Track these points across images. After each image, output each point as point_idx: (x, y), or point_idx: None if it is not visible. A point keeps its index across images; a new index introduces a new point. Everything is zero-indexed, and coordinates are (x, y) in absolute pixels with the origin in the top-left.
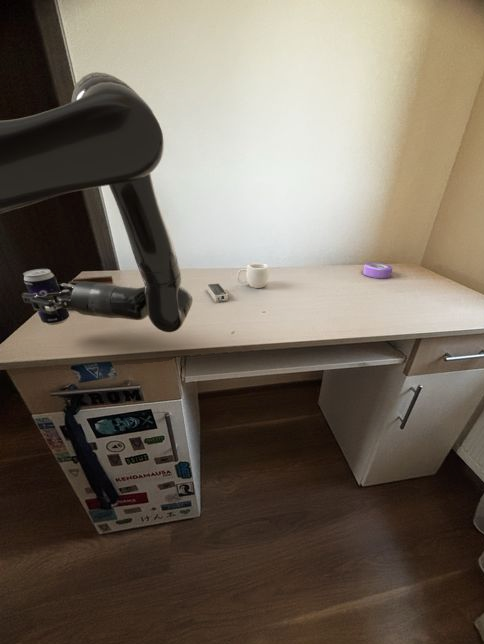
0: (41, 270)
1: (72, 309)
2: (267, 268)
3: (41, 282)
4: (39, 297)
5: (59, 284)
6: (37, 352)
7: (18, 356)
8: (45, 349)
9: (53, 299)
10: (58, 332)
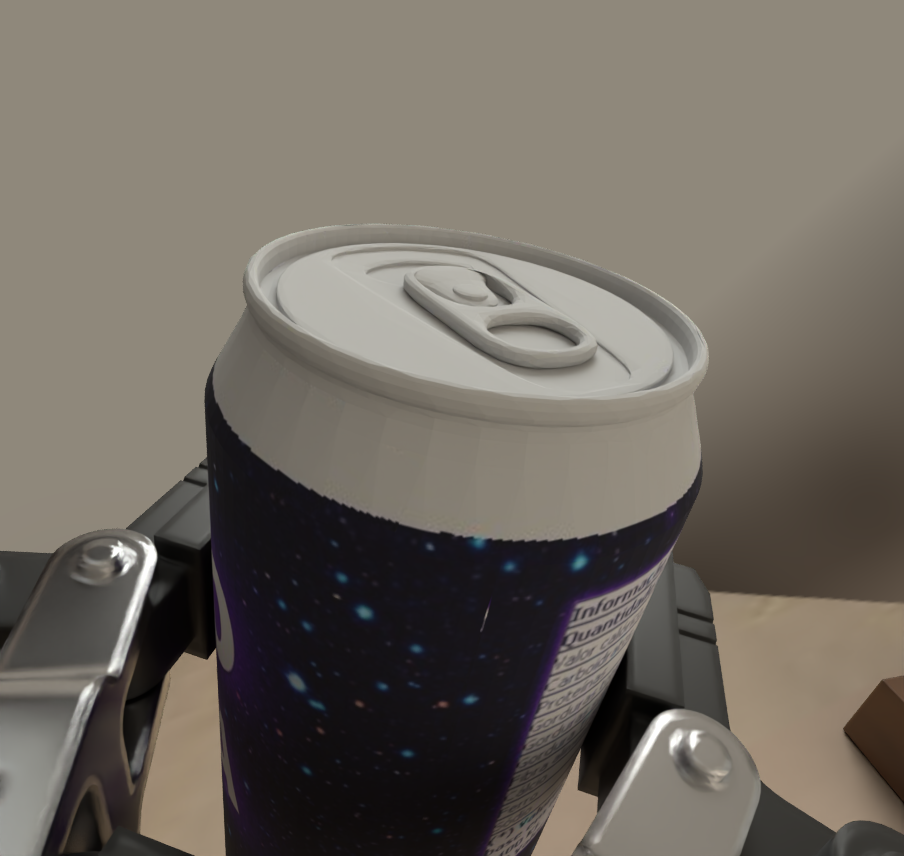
0: (627, 322)
1: (870, 759)
2: None
3: (221, 458)
4: (31, 607)
5: (677, 688)
6: (186, 791)
7: (172, 689)
8: (218, 835)
9: (71, 834)
10: None
